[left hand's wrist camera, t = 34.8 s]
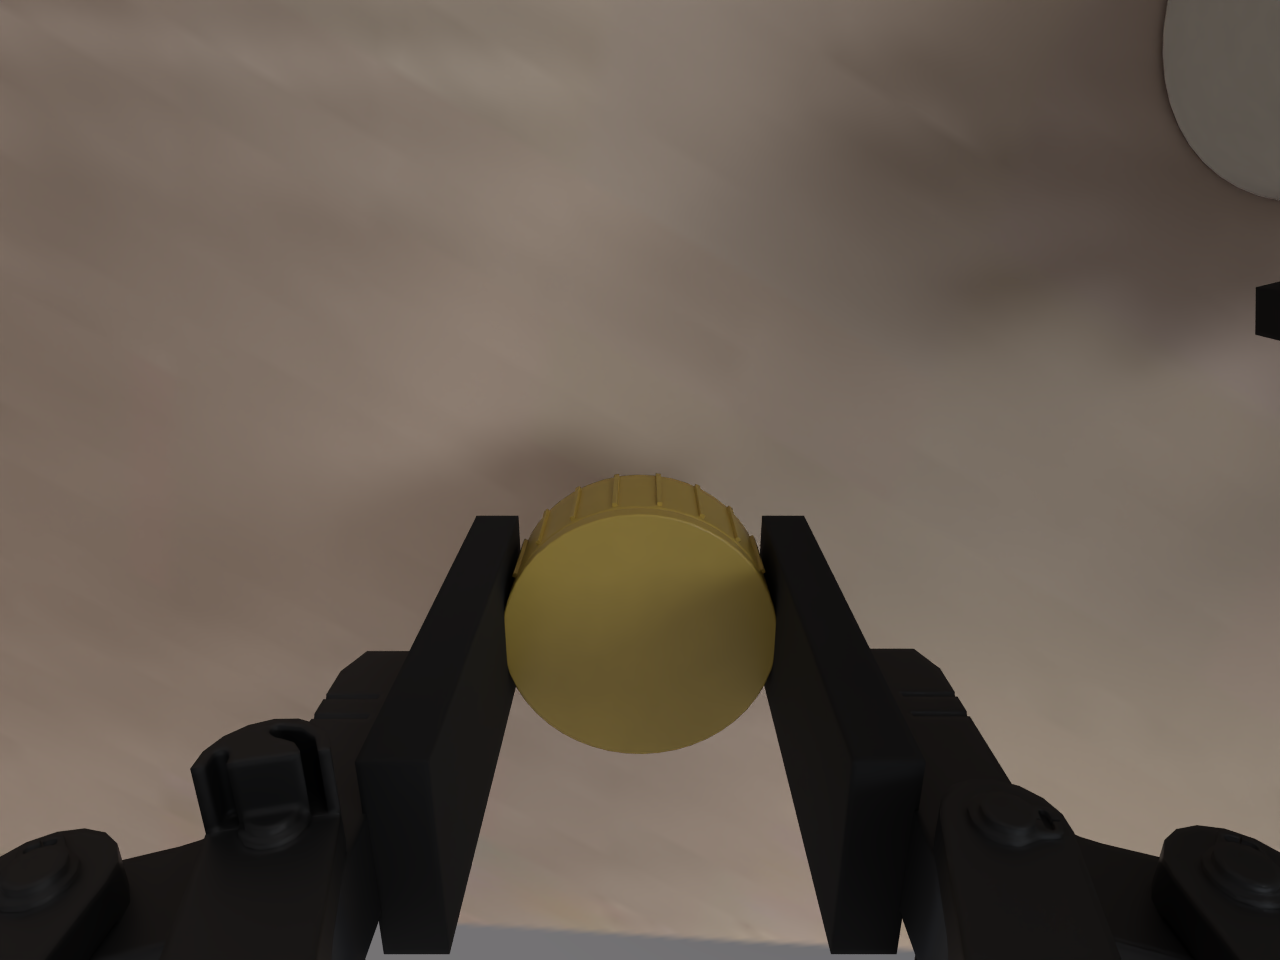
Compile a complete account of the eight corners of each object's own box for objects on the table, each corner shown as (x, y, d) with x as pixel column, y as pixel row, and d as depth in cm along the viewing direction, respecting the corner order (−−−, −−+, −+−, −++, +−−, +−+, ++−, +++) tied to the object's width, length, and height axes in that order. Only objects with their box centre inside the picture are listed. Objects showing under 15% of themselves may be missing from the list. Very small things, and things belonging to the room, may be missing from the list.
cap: (767, 469, 14) (786, 509, 12) (759, 690, 15) (774, 754, 14) (507, 473, 14) (487, 514, 12) (525, 693, 15) (510, 758, 14)
